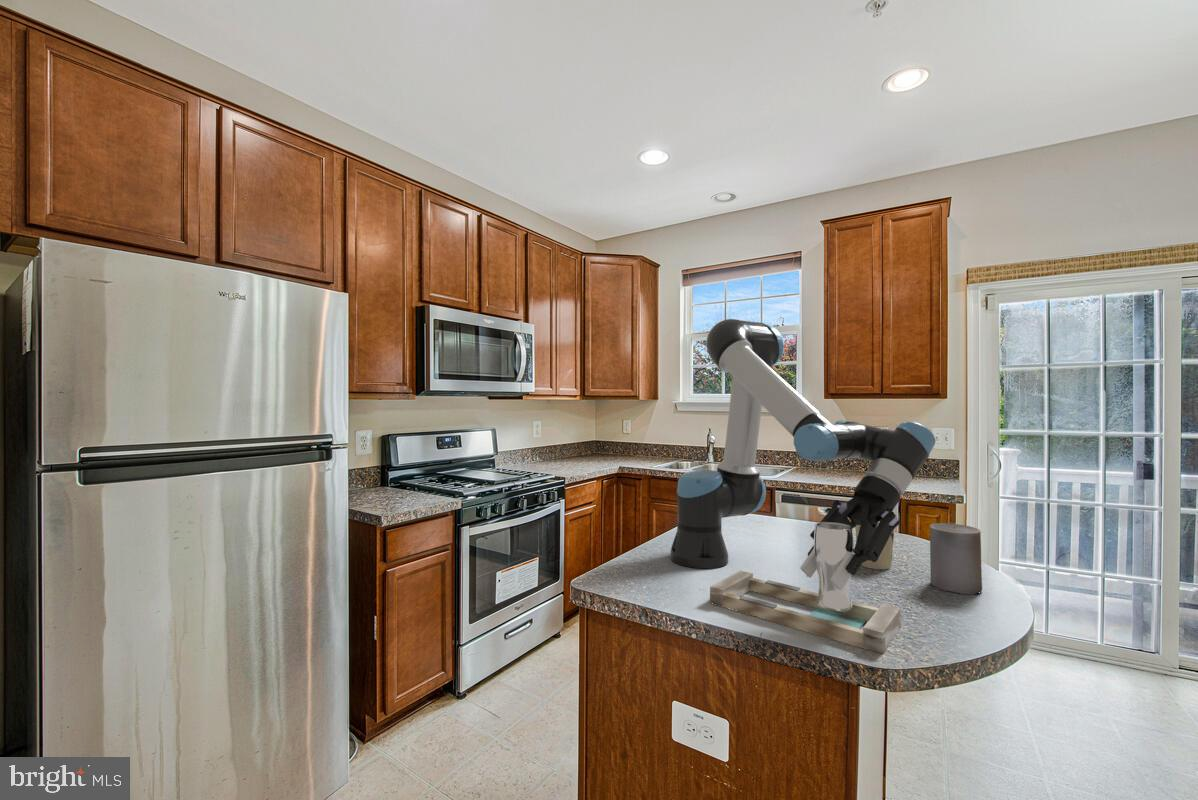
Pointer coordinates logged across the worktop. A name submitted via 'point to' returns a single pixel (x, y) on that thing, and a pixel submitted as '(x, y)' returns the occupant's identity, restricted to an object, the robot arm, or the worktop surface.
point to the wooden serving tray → (820, 621)
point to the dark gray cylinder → (955, 558)
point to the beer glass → (832, 563)
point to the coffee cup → (885, 556)
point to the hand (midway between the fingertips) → (820, 578)
